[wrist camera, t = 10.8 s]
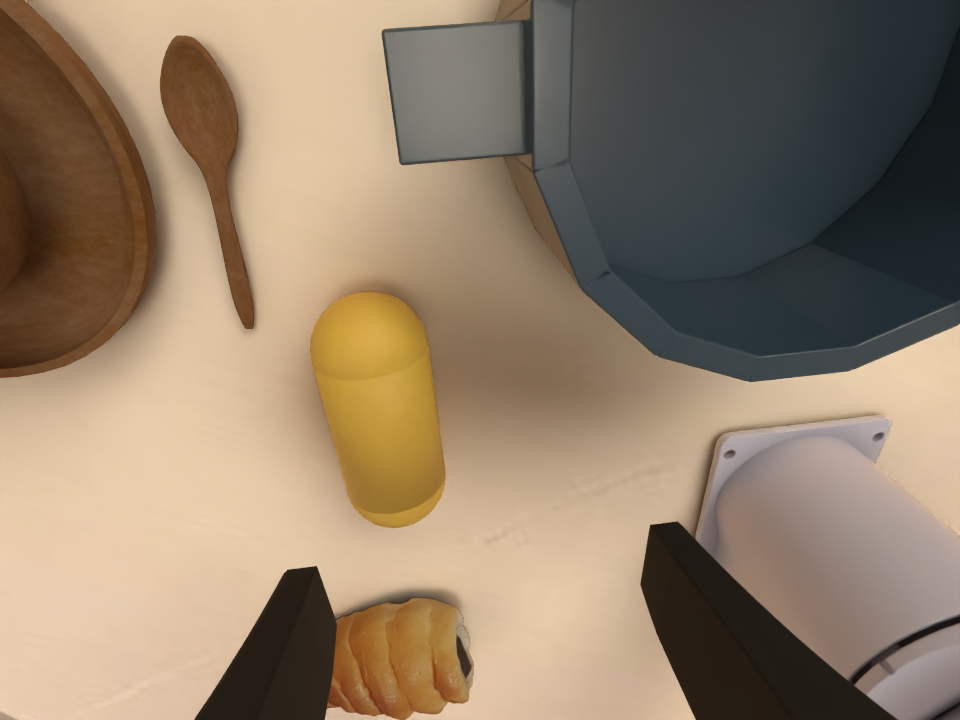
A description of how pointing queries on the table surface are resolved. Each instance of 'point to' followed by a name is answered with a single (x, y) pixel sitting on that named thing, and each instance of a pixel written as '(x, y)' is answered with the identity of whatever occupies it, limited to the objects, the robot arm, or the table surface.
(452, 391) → the table surface
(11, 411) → the table surface
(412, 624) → the pastry
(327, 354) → the yellow rounded capsule
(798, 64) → the pot
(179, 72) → the place setting
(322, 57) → the table surface
